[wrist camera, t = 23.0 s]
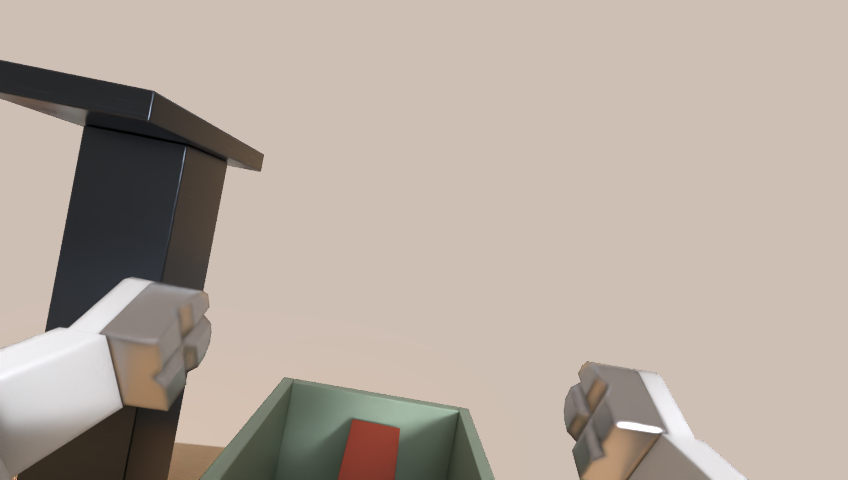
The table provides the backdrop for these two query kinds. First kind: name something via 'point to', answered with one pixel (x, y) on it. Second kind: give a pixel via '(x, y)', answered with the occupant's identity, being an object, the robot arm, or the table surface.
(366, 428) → the red flat bar
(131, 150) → the shelf stand
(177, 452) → the table surface
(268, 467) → the green open box
